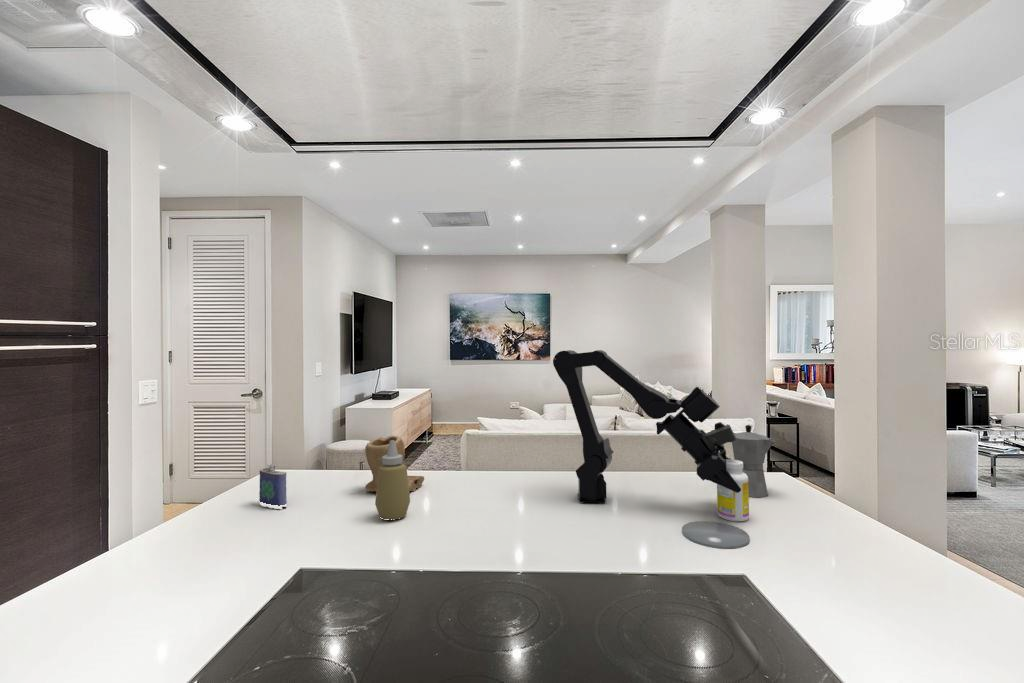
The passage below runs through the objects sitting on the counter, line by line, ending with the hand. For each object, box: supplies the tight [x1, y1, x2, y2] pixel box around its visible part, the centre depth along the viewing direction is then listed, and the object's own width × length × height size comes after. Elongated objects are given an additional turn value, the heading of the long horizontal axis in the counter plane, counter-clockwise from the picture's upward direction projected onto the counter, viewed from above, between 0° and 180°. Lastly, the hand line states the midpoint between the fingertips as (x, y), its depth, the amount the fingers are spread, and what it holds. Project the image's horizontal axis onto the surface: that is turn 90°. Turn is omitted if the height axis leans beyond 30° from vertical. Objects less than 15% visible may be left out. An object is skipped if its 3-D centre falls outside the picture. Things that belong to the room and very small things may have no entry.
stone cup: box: [364, 435, 425, 493], centre depth 133 cm, size 15×12×15 cm
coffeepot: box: [719, 424, 777, 499], centre depth 129 cm, size 15×9×18 cm, turn 44°
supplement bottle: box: [716, 458, 750, 522], centre depth 110 cm, size 7×7×13 cm
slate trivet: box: [681, 520, 751, 550], centre depth 100 cm, size 13×13×1 cm
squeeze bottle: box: [374, 440, 411, 520], centre depth 113 cm, size 8×8×18 cm
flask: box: [258, 463, 288, 506], centre depth 121 cm, size 9×3×11 cm, turn 61°
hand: (739, 487), depth 110 cm, fingers closed on supplement bottle, 7 cm apart
